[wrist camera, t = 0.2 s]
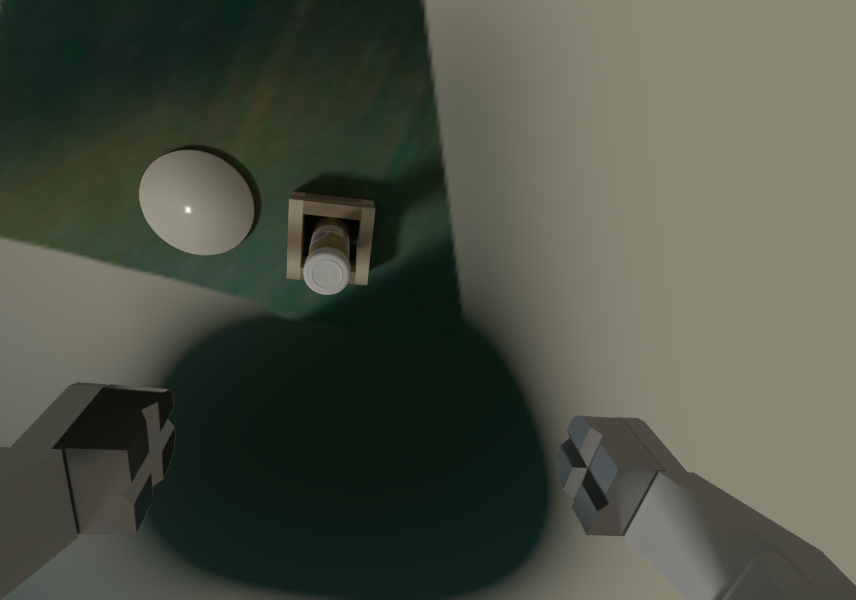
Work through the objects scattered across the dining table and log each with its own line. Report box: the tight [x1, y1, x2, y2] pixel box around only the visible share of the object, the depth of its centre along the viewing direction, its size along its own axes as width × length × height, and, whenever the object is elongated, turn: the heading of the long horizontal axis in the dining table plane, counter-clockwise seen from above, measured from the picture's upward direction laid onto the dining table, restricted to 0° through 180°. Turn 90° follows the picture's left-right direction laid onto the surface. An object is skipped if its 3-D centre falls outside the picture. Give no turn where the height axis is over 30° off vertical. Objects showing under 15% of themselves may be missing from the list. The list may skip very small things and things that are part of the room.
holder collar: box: [287, 191, 375, 285], centre depth 54 cm, size 10×10×4 cm
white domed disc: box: [139, 149, 255, 255], centre depth 51 cm, size 12×12×1 cm
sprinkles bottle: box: [303, 217, 351, 295], centre depth 50 cm, size 5×4×14 cm
